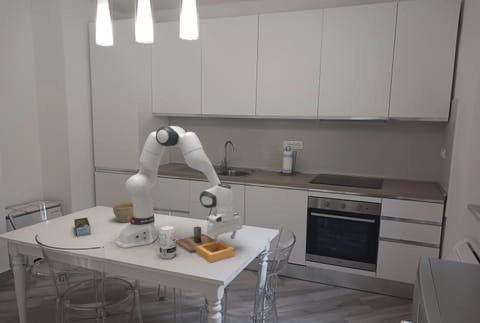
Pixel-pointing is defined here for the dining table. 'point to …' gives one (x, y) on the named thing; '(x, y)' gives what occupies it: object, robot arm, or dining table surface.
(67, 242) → the dining table surface
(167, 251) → the supplement can
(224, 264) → the dining table surface
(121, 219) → the planter bowl
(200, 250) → the orange square tray
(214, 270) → the dining table surface
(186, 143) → the robot arm
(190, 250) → the wooden peg stand
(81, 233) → the beverage carton
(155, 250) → the dining table surface
